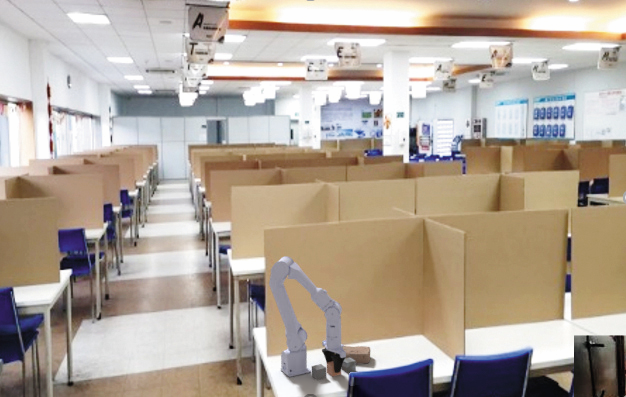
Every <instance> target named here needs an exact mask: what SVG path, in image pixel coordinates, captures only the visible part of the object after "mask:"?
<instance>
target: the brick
mask: <svg viewBox="0 0 626 397" xmlns="http://www.w3.org/2000/svg"><path fill="white" fill-rule="evenodd" d="M343 349H344V351H345V352H346V358H352V359H353V360H355V361H356V364H360V365H361V364H362V365H363V364H368V363H369V362H370V361H371V360H370V359H371V347H370V346H362V345H361V346H359V345H358V346H350V345H349V346H347V345H344V347H343ZM335 355H336V353H335ZM346 358H345V359H346Z"/></svg>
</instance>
